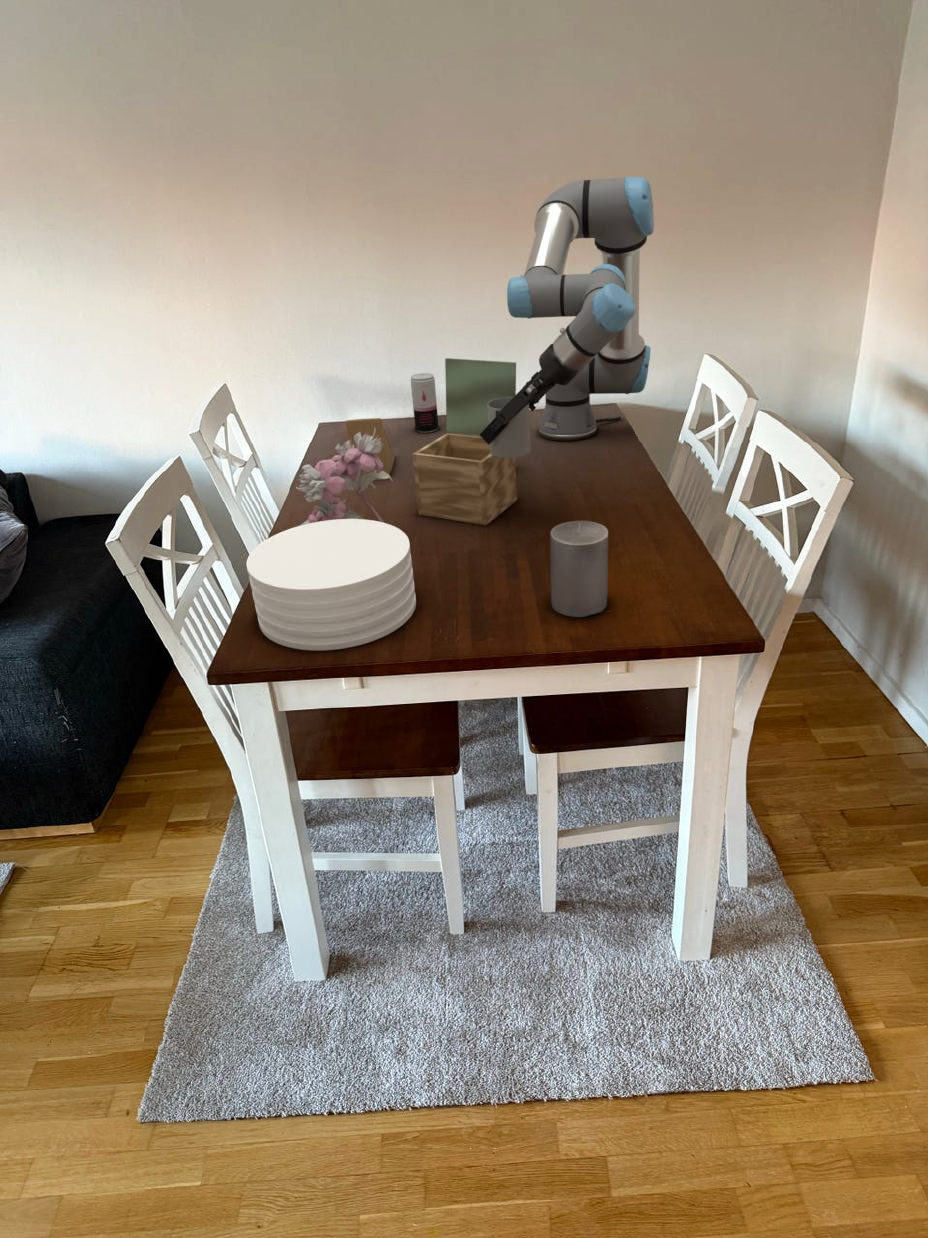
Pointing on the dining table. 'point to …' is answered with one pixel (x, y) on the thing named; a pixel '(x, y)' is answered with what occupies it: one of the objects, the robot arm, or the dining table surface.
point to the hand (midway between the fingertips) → (495, 432)
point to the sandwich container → (368, 428)
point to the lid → (475, 391)
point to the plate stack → (332, 583)
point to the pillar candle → (579, 568)
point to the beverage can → (424, 402)
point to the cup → (510, 432)
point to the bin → (463, 480)
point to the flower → (343, 479)
